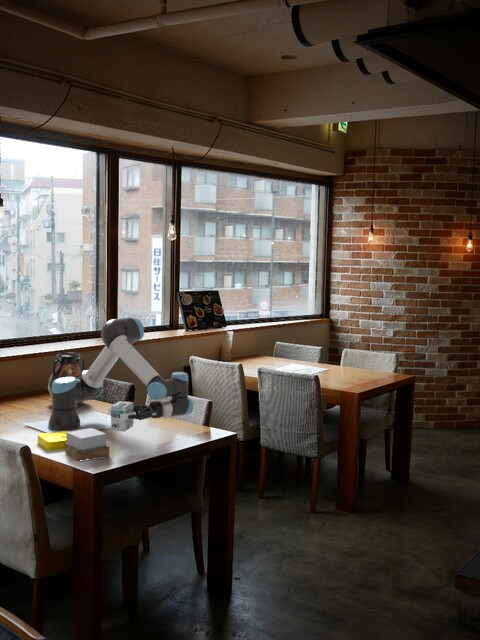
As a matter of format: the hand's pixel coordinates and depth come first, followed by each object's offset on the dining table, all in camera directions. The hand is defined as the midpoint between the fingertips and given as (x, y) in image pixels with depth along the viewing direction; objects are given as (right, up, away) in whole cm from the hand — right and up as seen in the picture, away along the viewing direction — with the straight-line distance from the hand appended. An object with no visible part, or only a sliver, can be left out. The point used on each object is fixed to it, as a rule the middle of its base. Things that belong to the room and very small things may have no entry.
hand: (114, 414), depth 309 cm
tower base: (-11, -17, -4) cm, 21 cm away
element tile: (-27, -15, +10) cm, 32 cm away
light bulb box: (+3, -7, +3) cm, 8 cm away
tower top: (-11, -12, -5) cm, 17 cm away
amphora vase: (-41, -6, +89) cm, 98 cm away
